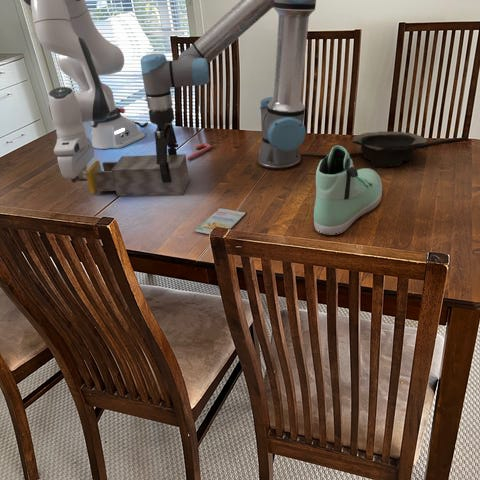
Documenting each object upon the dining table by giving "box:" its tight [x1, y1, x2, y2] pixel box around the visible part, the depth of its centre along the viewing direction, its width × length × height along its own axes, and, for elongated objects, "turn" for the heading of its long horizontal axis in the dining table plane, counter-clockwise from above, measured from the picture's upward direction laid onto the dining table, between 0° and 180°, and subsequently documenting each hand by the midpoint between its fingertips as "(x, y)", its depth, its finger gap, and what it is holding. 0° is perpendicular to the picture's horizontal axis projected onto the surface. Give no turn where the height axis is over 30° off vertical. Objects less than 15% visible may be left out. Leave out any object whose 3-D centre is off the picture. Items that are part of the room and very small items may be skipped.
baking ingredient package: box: [194, 207, 246, 235], centre depth 137 cm, size 9×1×15 cm
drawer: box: [70, 160, 118, 195], centre depth 160 cm, size 27×10×7 cm, turn 85°
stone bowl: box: [351, 131, 429, 168], centre depth 166 cm, size 25×25×9 cm
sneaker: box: [313, 145, 383, 236], centre depth 133 cm, size 14×35×20 cm, turn 152°
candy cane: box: [186, 143, 212, 161], centre depth 185 cm, size 6×15×2 cm, turn 145°
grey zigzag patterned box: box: [111, 153, 190, 198], centre depth 158 cm, size 22×12×9 cm, turn 85°
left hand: (83, 180), depth 161 cm, fingers closed, pressing on drawer
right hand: (170, 174), depth 157 cm, fingers closed on grey zigzag patterned box, 11 cm apart
